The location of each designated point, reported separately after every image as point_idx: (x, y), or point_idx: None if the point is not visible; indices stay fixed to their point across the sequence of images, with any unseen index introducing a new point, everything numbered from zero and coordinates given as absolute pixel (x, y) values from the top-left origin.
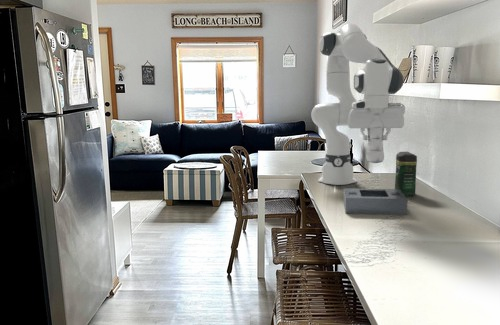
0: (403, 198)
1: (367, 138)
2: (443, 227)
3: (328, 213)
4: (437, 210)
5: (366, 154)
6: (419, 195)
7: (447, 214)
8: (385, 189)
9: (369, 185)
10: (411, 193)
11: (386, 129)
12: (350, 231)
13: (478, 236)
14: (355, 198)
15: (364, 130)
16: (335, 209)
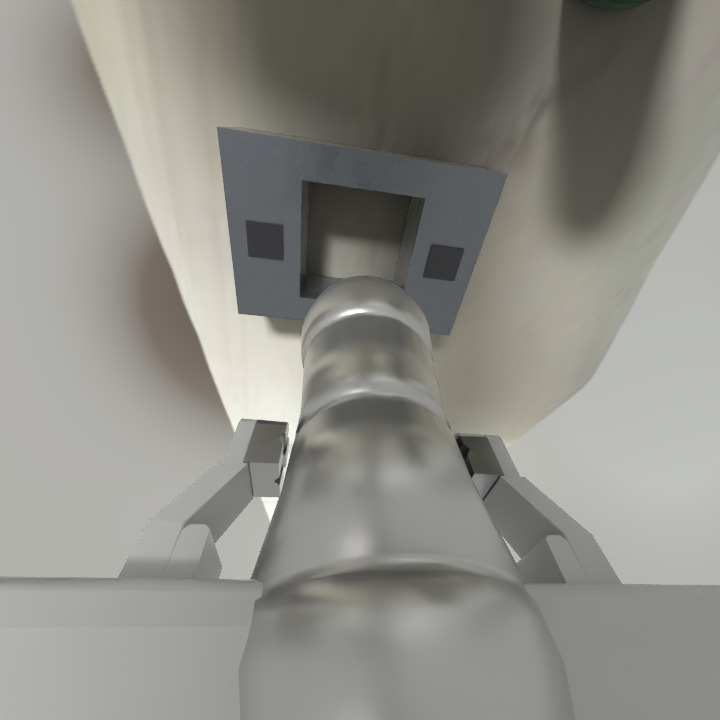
0: (439, 329)
1: (283, 466)
2: (469, 393)
3: (197, 286)
4: (555, 269)
5: (301, 347)
6: None
7: (551, 309)
8: (434, 177)
9: None
10: (633, 6)
11: (530, 576)
12: (266, 409)
13: (499, 430)
14: (274, 316)
15: (216, 575)
16: (215, 241)
